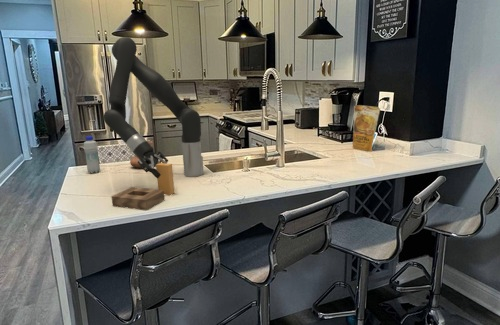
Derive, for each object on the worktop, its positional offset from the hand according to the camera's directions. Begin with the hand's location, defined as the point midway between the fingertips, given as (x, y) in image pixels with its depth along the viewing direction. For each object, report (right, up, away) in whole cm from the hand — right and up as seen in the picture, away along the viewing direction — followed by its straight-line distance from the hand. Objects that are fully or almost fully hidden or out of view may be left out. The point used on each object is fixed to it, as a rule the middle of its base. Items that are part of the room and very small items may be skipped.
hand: (164, 174), depth 149 cm
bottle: (-48, -1, +40) cm, 62 cm away
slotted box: (-8, -11, -8) cm, 16 cm away
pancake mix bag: (+110, +13, +78) cm, 135 cm away
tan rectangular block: (0, -8, +2) cm, 9 cm away
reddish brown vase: (-24, +3, +50) cm, 56 cm away
